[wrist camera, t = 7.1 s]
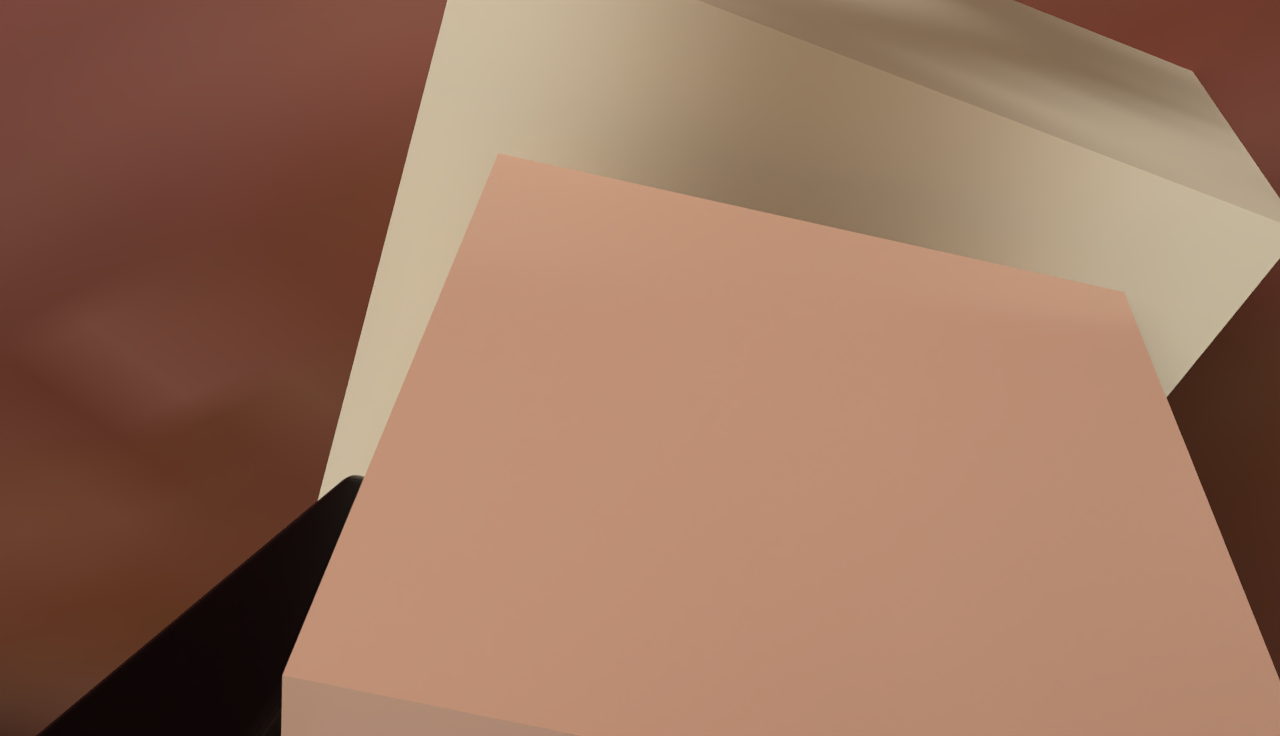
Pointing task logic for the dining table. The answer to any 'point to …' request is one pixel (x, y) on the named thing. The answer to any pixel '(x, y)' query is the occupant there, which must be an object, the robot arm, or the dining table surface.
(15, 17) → the dining table surface
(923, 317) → the terracotta cube
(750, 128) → the maple base
